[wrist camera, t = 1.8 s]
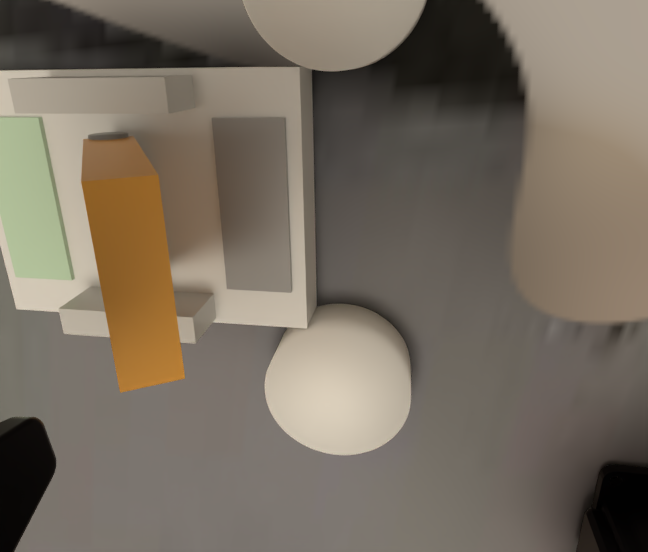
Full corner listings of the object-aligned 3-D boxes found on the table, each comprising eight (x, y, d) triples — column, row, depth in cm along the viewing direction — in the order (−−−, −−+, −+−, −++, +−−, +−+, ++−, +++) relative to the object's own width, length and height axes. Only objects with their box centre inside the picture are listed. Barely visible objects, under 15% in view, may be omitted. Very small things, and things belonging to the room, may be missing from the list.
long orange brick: (131, 130, 18) (157, 170, 11) (152, 276, 20) (185, 381, 13) (82, 133, 17) (79, 176, 11) (109, 282, 19) (120, 396, 13)
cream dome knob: (411, 303, 21) (411, 331, 19) (410, 421, 23) (410, 459, 21) (273, 301, 22) (258, 327, 20) (283, 415, 24) (270, 450, 22)
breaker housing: (311, 66, 18) (284, 67, 15) (316, 305, 22) (295, 356, 18) (-2, 69, 20) (-96, 72, 16) (48, 289, 23) (-21, 332, 20)
